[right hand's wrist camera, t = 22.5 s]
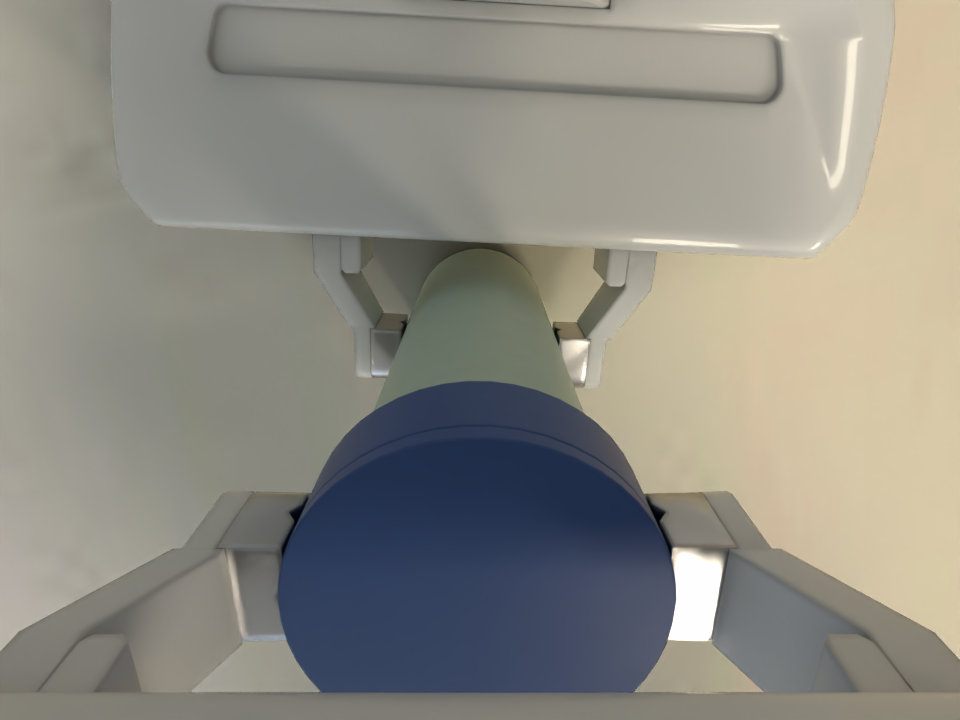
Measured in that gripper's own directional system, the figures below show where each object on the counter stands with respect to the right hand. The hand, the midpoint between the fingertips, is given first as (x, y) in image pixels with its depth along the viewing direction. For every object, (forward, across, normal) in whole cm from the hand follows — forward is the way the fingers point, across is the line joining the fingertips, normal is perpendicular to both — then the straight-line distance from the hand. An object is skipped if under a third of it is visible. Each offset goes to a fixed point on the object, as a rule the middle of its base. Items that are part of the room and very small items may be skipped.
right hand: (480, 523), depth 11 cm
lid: (-2, 0, 0) cm, 2 cm away
